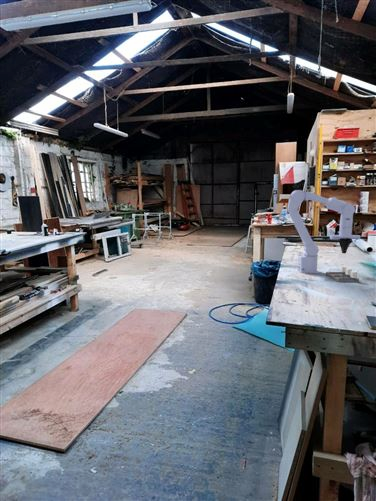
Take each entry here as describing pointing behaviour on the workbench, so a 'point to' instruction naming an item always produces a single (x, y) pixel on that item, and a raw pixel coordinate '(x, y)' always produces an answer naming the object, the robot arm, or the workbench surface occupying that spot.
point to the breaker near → (353, 274)
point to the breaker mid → (348, 271)
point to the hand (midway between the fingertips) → (343, 253)
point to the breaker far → (343, 268)
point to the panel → (341, 277)
